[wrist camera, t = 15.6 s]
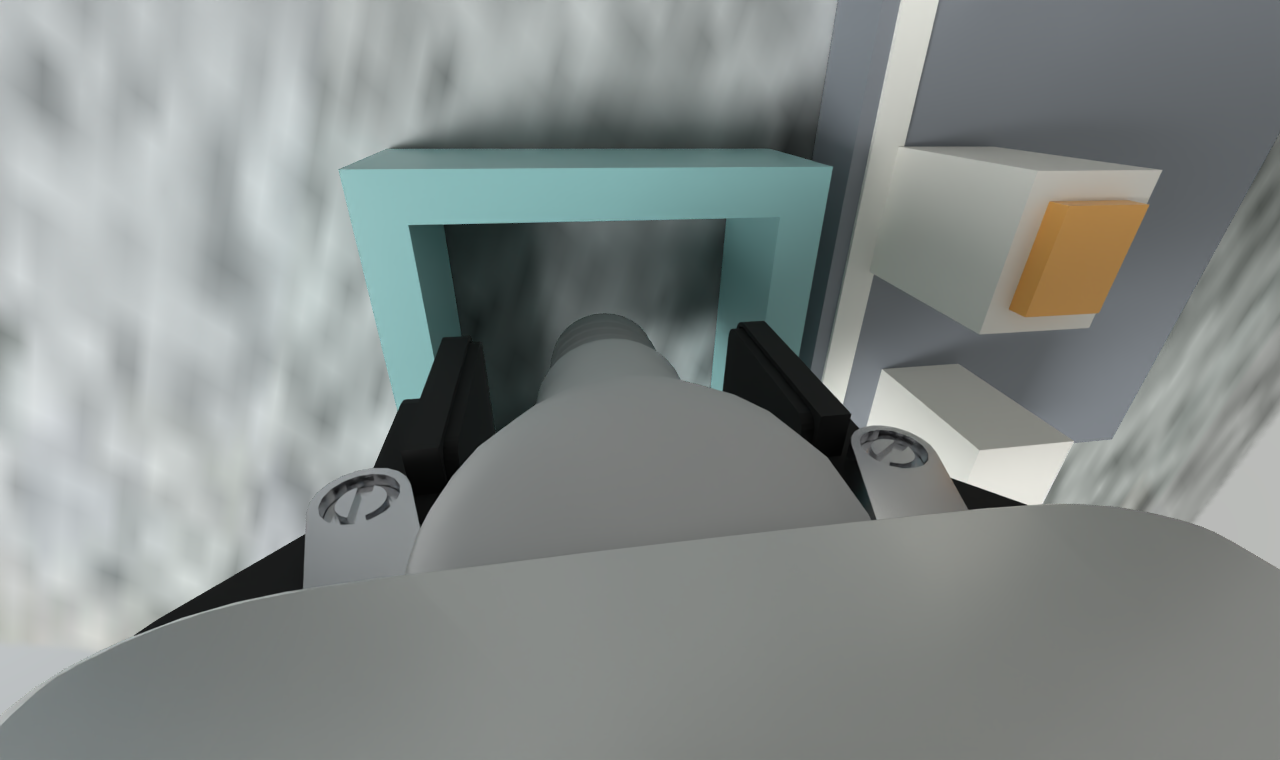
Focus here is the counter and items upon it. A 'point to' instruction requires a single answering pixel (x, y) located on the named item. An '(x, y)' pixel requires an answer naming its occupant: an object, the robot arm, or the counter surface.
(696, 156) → the socket
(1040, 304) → the block
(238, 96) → the counter surface
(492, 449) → the lightbulb
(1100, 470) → the counter surface
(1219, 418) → the counter surface
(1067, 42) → the breaker panel
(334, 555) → the robot arm
